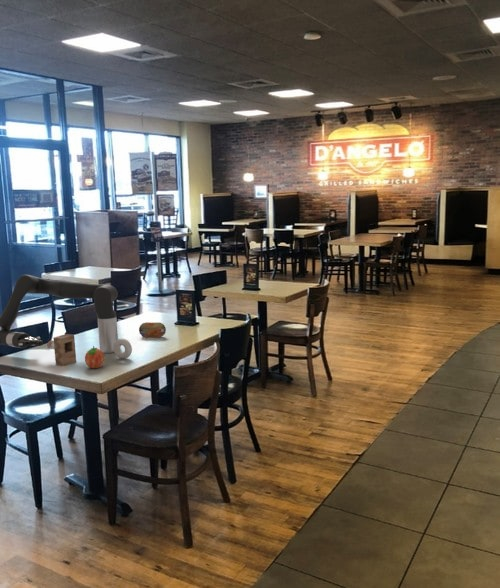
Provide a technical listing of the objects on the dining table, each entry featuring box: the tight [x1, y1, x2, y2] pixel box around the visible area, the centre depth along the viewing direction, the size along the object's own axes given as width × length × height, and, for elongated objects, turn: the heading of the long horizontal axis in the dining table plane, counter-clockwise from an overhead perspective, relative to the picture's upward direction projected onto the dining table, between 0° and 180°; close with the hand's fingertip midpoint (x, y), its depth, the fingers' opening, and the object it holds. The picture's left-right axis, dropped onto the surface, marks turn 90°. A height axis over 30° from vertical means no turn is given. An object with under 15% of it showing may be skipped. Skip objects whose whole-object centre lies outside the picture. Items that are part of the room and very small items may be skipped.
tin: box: [138, 321, 167, 339], centre depth 321 cm, size 15×3×8 cm, turn 76°
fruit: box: [84, 345, 105, 369], centre depth 264 cm, size 9×10×10 cm
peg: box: [46, 340, 67, 350], centre depth 276 cm, size 9×4×4 cm, turn 60°
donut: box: [113, 337, 133, 360], centre depth 278 cm, size 10×3×10 cm, turn 66°
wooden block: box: [52, 333, 77, 367], centre depth 273 cm, size 5×8×13 cm, turn 150°
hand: (41, 343), depth 281 cm, fingers closed
